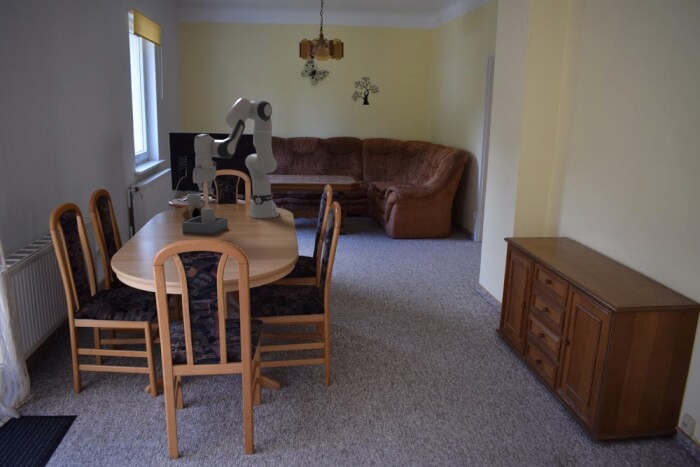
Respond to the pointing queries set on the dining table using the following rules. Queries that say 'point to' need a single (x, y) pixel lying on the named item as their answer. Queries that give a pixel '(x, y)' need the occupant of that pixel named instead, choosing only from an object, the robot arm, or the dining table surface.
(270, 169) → the robot arm
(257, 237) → the dining table surface
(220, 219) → the bin
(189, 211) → the clay pipe
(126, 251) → the dining table surface
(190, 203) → the cup
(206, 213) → the can
